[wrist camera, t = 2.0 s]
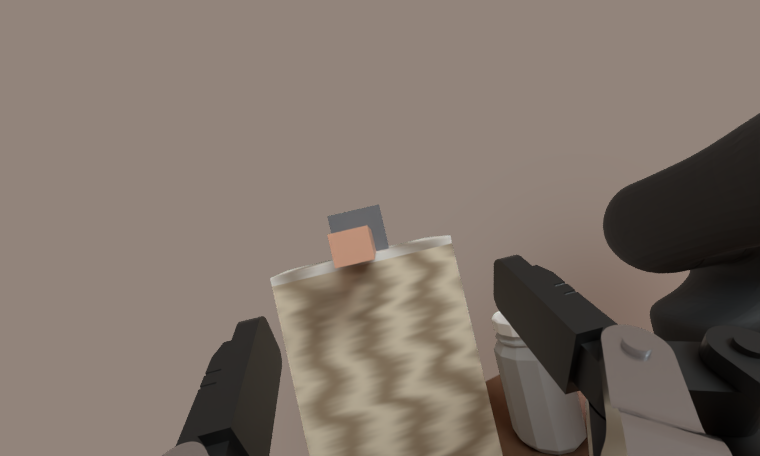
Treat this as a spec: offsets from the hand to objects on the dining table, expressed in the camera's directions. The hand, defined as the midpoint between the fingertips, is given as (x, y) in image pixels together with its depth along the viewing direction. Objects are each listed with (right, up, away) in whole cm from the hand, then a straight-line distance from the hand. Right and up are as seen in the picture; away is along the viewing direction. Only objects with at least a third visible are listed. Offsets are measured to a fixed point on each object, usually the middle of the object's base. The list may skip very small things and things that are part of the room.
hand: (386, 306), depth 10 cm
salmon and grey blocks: (-2, -1, +25) cm, 25 cm away
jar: (+25, -28, +34) cm, 50 cm away
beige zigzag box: (+5, -32, +30) cm, 44 cm away
